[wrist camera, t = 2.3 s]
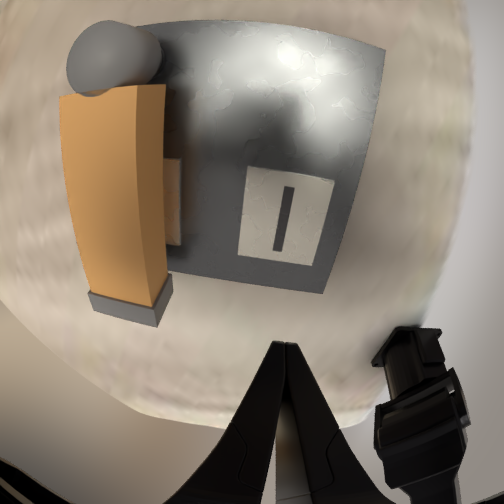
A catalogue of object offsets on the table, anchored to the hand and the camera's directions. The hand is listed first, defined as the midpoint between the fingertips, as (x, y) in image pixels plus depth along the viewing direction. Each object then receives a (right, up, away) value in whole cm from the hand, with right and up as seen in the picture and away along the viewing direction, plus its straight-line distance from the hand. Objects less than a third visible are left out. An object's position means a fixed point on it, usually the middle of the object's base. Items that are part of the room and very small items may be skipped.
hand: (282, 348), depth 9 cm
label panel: (-3, +9, +8) cm, 12 cm away
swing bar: (-8, +8, +5) cm, 12 cm away
